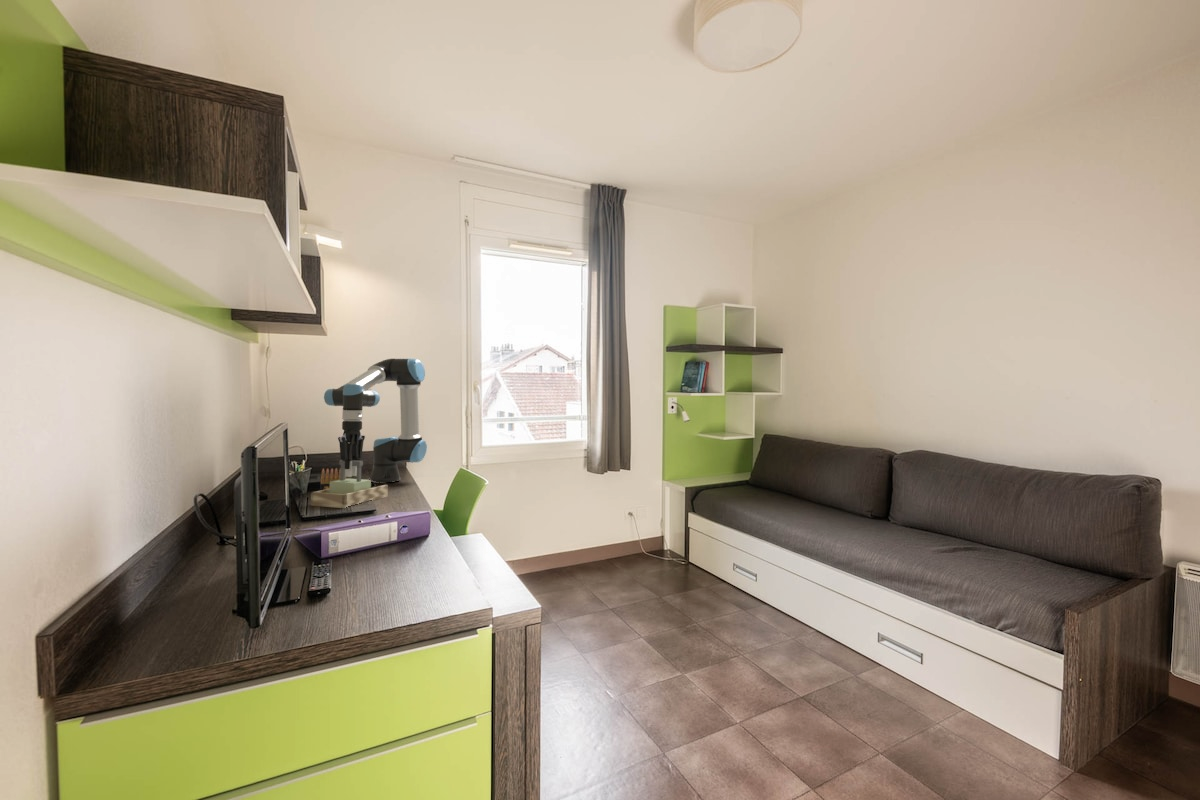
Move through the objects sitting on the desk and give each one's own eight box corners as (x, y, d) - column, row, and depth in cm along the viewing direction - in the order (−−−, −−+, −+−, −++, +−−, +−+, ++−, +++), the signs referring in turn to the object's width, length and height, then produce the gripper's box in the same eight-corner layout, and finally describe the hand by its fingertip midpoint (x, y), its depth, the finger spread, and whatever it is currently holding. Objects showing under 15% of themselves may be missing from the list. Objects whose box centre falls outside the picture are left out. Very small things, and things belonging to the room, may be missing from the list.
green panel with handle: (346, 494, 214) (347, 458, 214) (370, 496, 211) (371, 460, 211) (329, 498, 204) (330, 461, 204) (353, 500, 201) (354, 462, 201)
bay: (356, 494, 223) (357, 482, 223) (387, 496, 219) (387, 484, 219) (310, 505, 197) (310, 492, 197) (344, 508, 194) (344, 495, 194)
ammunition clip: (346, 494, 223) (347, 467, 223) (345, 494, 221) (346, 468, 221) (320, 494, 221) (321, 467, 221) (319, 495, 219) (320, 468, 219)
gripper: (346, 421, 200) (345, 479, 199) (372, 420, 214) (370, 474, 214) (331, 420, 202) (329, 478, 201) (357, 419, 216) (356, 473, 216)
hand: (350, 476), depth 208 cm, fingers closed on green panel with handle, 2 cm apart
